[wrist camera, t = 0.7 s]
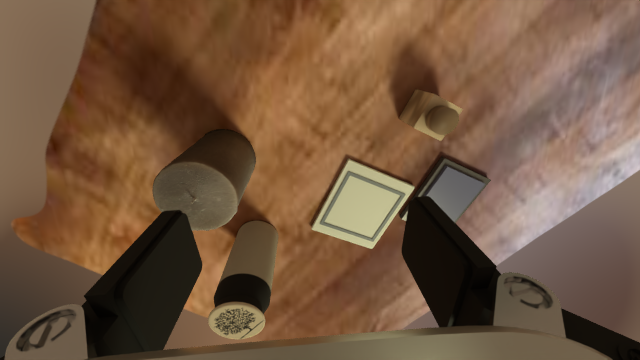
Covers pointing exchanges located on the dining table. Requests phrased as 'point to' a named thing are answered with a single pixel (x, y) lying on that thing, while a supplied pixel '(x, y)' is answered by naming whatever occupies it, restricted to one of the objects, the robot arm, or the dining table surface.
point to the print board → (361, 204)
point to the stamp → (431, 114)
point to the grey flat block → (451, 188)
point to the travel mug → (245, 283)
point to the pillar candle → (207, 179)
